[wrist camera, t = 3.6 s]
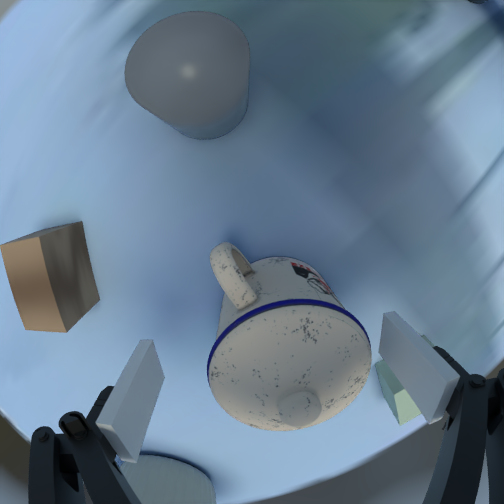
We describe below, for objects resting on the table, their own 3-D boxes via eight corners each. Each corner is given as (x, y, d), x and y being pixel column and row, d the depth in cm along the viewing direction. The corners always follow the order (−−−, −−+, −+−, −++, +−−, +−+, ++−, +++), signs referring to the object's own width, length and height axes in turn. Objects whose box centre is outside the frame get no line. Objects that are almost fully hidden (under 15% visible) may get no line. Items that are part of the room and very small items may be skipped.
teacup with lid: (348, 318, 23) (409, 412, 11) (258, 368, 24) (266, 478, 12) (276, 195, 20) (317, 219, 9) (174, 261, 21) (111, 346, 10)
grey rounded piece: (165, 73, 17) (126, 27, 9) (244, 61, 17) (243, 4, 9) (169, 145, 19) (125, 128, 11) (251, 134, 19) (256, 106, 11)
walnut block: (43, 229, 20) (-1, 245, 14) (82, 221, 20) (39, 236, 14) (60, 300, 22) (25, 329, 16) (100, 299, 22) (66, 332, 16)
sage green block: (374, 363, 24) (393, 394, 19) (423, 334, 24) (448, 360, 19) (383, 396, 26) (399, 425, 21) (427, 370, 25) (447, 396, 20)
